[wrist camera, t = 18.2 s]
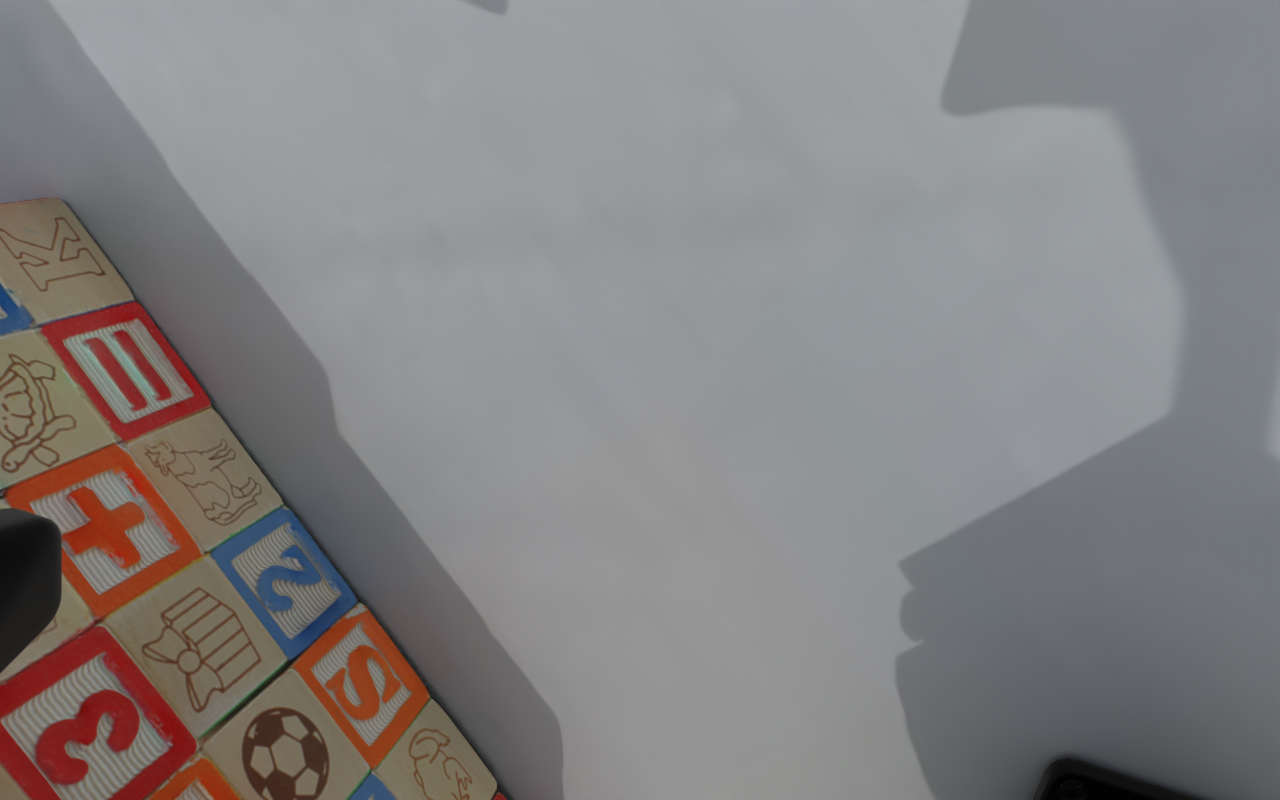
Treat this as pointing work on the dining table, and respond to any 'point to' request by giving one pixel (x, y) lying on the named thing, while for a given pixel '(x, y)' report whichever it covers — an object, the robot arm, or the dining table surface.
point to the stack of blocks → (178, 578)
